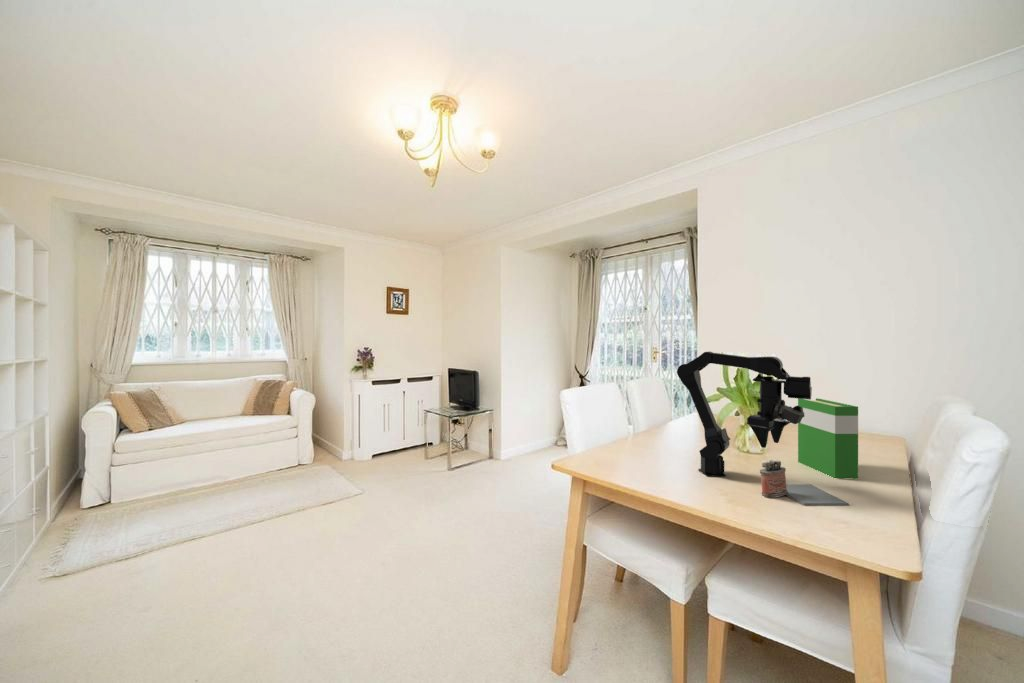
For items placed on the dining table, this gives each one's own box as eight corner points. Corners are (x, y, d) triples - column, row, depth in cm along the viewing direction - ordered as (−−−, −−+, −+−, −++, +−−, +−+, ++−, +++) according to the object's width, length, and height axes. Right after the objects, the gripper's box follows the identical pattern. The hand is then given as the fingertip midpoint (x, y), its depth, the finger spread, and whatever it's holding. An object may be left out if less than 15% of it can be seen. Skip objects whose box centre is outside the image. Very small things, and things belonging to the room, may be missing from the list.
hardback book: (798, 461, 147) (798, 398, 147) (818, 462, 146) (818, 398, 146) (835, 478, 129) (835, 406, 129) (858, 478, 129) (858, 406, 129)
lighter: (780, 489, 119) (777, 457, 119) (790, 493, 115) (788, 460, 115) (758, 494, 117) (755, 461, 117) (768, 498, 113) (765, 464, 113)
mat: (803, 505, 109) (803, 503, 109) (770, 486, 123) (770, 484, 123) (848, 505, 109) (848, 503, 109) (810, 486, 123) (810, 484, 123)
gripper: (788, 402, 112) (787, 456, 112) (812, 396, 122) (811, 446, 123) (746, 397, 121) (745, 447, 121) (772, 392, 131) (771, 438, 132)
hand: (770, 445), depth 124 cm, fingers open, 9 cm apart
